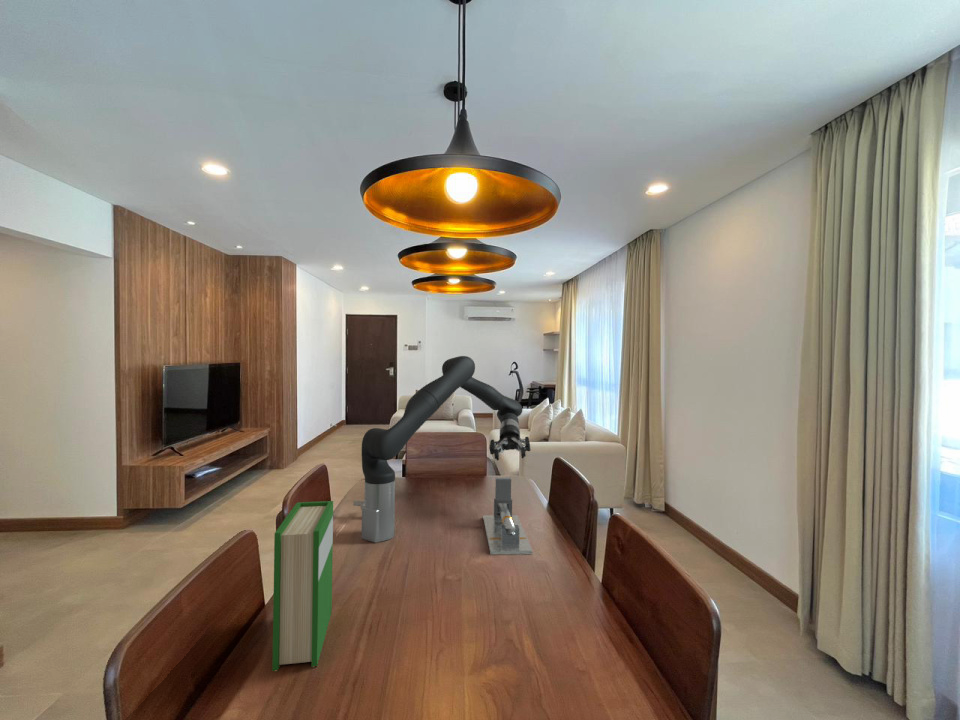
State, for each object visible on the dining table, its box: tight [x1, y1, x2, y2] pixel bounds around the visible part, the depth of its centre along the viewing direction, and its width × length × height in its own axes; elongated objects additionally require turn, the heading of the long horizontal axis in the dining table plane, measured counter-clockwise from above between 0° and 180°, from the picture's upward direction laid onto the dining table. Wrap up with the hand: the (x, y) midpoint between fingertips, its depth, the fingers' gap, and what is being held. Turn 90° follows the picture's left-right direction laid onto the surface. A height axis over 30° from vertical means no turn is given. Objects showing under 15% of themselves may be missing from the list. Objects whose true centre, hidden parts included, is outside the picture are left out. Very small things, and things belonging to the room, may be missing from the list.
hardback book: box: [271, 500, 334, 672], centre depth 88 cm, size 18×7×24 cm, turn 10°
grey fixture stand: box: [482, 503, 533, 556], centre depth 143 cm, size 30×12×8 cm, turn 3°
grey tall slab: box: [493, 477, 513, 518], centre depth 150 cm, size 2×6×13 cm, turn 93°
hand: (510, 457), depth 153 cm, fingers open, 8 cm apart
